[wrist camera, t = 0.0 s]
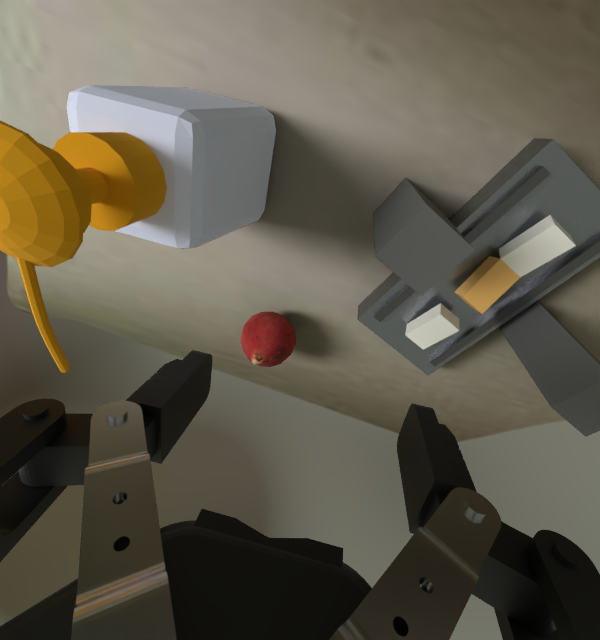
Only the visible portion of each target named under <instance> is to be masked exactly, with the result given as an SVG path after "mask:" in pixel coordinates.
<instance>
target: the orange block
mask: <svg viewBox="0 0 600 640" xmlns="http://www.w3.org/2000/svg"><path fill="white" fill-rule="evenodd" d="M519 278H520V277H519V276H518V275H517V274H516V273H515V272H514V271H513V270H512V269H511V268H510V267H509V266H508V265H507V264H506V263H505V262H503V261H502V260H501V259H500V258H496V257H492V256H489V257H488V258H487V259H486V260H485V261H484V262H483V263H482V264H481V265H480V266H479V267H478V269H477V270H476V271H475V272H474V273H473V274H472V275H471V276H470V277H469V278H468V279H467V280H466V281H465V282H464V283H463V284H462V285H461V286H460V287H459V288H458V289H457V290H456V291H455V293H456V294H457V295H458V296H459V297H460V298H461V299H463V300H464V301H465V302H466V303H467V304H468V305H469V306H471V307H472V308H473V309H474V310H476V311H478V312H480V313H481V314H483V313H484V312H485V311H486V310H487V309H488V308H489V307H490V306H491V305H492V304H493V303H494V302H495V301H496V300H497V299H498V298H499V297H501V296H502V295H503V294H504V293H505V292H506V291H507V290H508V289H509V288H510V287H511V286H512V285H513V284H514V283H515V282H516V281H517V280H518V279H519Z"/></svg>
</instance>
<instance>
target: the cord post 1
mask: <svg viewBox="0 0 600 640" xmlns="http://www.w3.org/2000/svg"><path fill="white" fill-rule="evenodd" d="M373 220H374V242H375V257H376V258H378V259H379V260H380V261H381V262H382V263H383V264H385V265H386V266H387V267H388V268H389V269H390V270H392V271H393V272H394V273H395V274H396V275H397V276H399V277H400V278H401V279H402V280H403V281H404V282H406V283H407V284H408V285H409V286H410V287H411V288H413V289H414V290H415V291H416V292H417V293H418V294H420V295H421V296H422V295H423V294H424V293H425V292H426V291H428V290H429V289H430V288H431V287H432V286H433V285H435V284H436V283H437V282H438V281H439V280H441V279H442V278H443V277H444V276H445V275H446V274H448V273H449V272H450V271H451V270H452V269H453V268H455V267H456V266H457V265H458V264H459V263H460V262H462V261H463V260H464V259H465V258H466V257H468V256H469V255H470V254H471V253H472V252H473V251H475V249H474V248H473V247H472V246H471V245H470V243H469V242H468V241H467V240H466V239H465V238H464V237H463V236H462V234H461V233H460V232H459V231H458V230H457V229H456V228H455V226H454V225H453V224H452V223H451V222H450V221H449V220H448V219H447V217H446V216H445V215H444V214H443V213H442V212H441V211H440V209H439V208H438V207H437V206H436V205H434V204H433V203H432V202H431V201H430V200H429V199H428V198H427V197H426V196H425V195H424V194H423V193H422V192H421V191H420V190H418V189H417V188H416V187H415V186H414V185H413V184H412V183H411V182H410V181H409V180H408V179H407V178H405V179H404V180H403V181H402V182H401V183H400V185H399V186H398V187H397V188H396V189H395V190H394V191H393V192H392V193H391V195H390V196H389V197H388V198H387V199H386V200H385V201H384V202H383V204H382V205H381V206H380V207H379V208H378V209H377V210H376V211H375V212H374V214H373Z"/></svg>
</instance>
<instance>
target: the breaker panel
mask: <svg viewBox="0 0 600 640" xmlns="http://www.w3.org/2000/svg"><path fill="white" fill-rule="evenodd" d="M549 215H551V216H552V217H553V218H554V219H555V220H556V221H557V222H558V223H559V224H560V225H561V226H562V227H563V228H564V229H565V230H566V231H567V232H568V233H569V234H570V236H571V237H572V239H573V241H574V243H575V245H576V246H575V247H573V248H571V249H569V250H568V251H566V252H564V253H562V254H561V255H559V256H557V257H555V258H554V259H552V260H550V261H548V262H547V263H545V264H543V265H541V266H540V267H538V268H536V269H534V270H533V271H531V272H529V273H527V274H525V275H524V276H522V277H520V278H519V279H518V280H517V281H516V282H515V283H514V284H513V285H512V286H511V287H510V288H509V289H508V290H507V291H506V292H505V293H504V294H503V295H502V296H501V297H499V298H498V299H497V300H496V301H495V302H494V303H493V304H492V305H491V306H490V307H489V308H488V309H487V310H486V311H485V312H484V313H483V314H481V313H480V312H478V311H476V310H474V309H473V308H472V307H471V306H469V305H468V304H467V303H466V302H465V301H464V300H463V299H461V298H460V297H459V296H458V295H457V294H456V293H455V291H456V290H457V289H458V288H459V287H460V286H461V285H462V284H463V283H464V282H465V281H466V280H467V279H468V278H469V277H470V276H471V275H472V274H473V273H474V272H475V271H476V270H477V269H478V267H479V266H480V265H481V264H482V263H483V262H484V261H485V260H486V259H487V258H488V257H489V256H492V257H496V258H500V254H499V248H501V247H502V246H504V245H505V244H507V243H508V242H510V241H511V240H513V239H514V238H516V237H517V236H519V235H520V234H522V233H523V232H525V231H526V230H528V229H529V228H531V227H532V226H534V225H535V224H537V223H538V222H540V221H541V220H543V219H544V218H546V217H547V216H549ZM449 221H450V222H451V223H452V224H453V225H454V226H455V228H456V229H457V230H458V231H459V232H460V233H461V234H462V236H463V237H464V238H465V239H466V240H467V241H468V242H469V243H470V245H471V246H472V247H473V248H474V249H475V251H473V252H472V253H471V254H470V255H469V256H468V257H466V258H465V259H464V260H463V261H462V262H460V263H459V264H458V265H457V266H456V267H455V268H453V269H452V270H451V271H450V272H449V273H448V274H446V275H445V276H444V277H443V278H442V279H441V280H439V281H438V282H437V283H436V284H435V285H433V286H432V287H431V288H430V289H429V290H428V291H426V292H425V293H424V294H423V295H422V296H421V295H420V294H418V293H417V292H416V291H415V290H414V289H413V288H411V287H410V286H409V285H408V284H407V283H406V282H404V281H403V280H402V279H401V278H400V277H399V276H397V275H396V274H395V273H394V272H393V273H392V274H391V275H390V276H389V277H388V278H387V279H386V280H385V281H384V282H383V283H382V284H381V285H380V286H379V287H378V288H376V289H375V290H374V291H373V292H372V293H371V294H370V295H369V296H368V297H367V298H366V299H365V300H364V301H363V302H362V303H361V304H360V305H359V306H358V320H359V321H360V322H362V323H363V324H364V325H365V326H367V327H368V328H369V329H370V330H372V331H373V332H374V333H375V334H377V335H378V336H379V337H380V338H382V339H383V340H384V341H385V342H387V343H388V344H389V345H390V346H392V347H393V348H394V349H395V350H397V351H398V352H399V353H400V354H402V355H403V356H404V357H405V358H407V359H408V360H409V361H410V362H412V363H413V364H414V365H415V366H417V367H418V368H419V369H420V370H422V371H423V372H424V373H426V374H427V375H429V374H431V373H432V372H434V371H435V370H437V369H438V368H440V367H441V366H443V365H444V364H445V363H447V362H448V361H450V360H451V359H453V358H454V357H456V356H457V355H459V354H460V353H461V352H463V351H464V350H466V349H467V348H469V347H470V346H472V345H473V344H475V343H476V342H477V341H479V340H480V339H482V338H483V337H485V336H486V335H488V334H489V333H491V332H492V331H493V330H495V329H496V328H498V327H499V326H501V325H502V324H504V323H505V322H507V321H508V320H509V319H511V318H512V317H514V316H515V315H517V314H518V313H520V312H521V311H523V310H524V309H525V308H527V307H528V306H530V305H531V304H533V303H534V302H536V301H537V300H539V299H540V298H542V297H543V296H544V295H546V294H547V293H549V292H550V291H552V290H553V289H555V288H556V287H558V286H559V285H560V284H562V283H563V282H565V281H566V280H568V279H569V278H571V277H572V276H574V275H575V274H576V273H578V272H579V271H581V270H582V269H584V268H585V267H587V266H588V265H590V264H591V263H592V262H594V261H595V260H597V259H598V258H600V190H599V189H598V188H597V187H596V186H595V185H594V183H593V182H592V181H591V180H590V179H589V178H588V177H587V176H586V175H585V174H584V172H583V171H582V170H581V169H580V168H579V167H578V166H577V165H576V164H575V163H574V162H573V160H572V159H571V158H570V157H569V156H568V155H567V154H566V153H565V152H564V151H563V150H562V148H561V147H560V146H559V145H558V144H557V143H556V142H555V141H554V140H553V139H538V138H534V139H533V140H532V141H531V142H530V143H529V144H528V145H527V146H526V147H525V148H524V149H523V150H522V151H521V152H520V153H519V154H518V155H517V156H516V157H514V158H513V159H512V160H511V161H510V162H509V163H508V164H507V165H506V166H505V167H504V168H503V169H502V170H501V171H500V172H499V173H498V174H497V175H495V176H494V177H493V178H492V179H491V180H490V181H489V182H488V183H487V184H486V185H485V186H484V187H483V188H482V189H481V190H480V191H479V192H478V193H477V194H475V195H474V196H473V197H472V198H471V199H470V200H469V201H468V202H467V203H466V204H465V205H464V206H463V207H462V208H461V209H460V210H459V211H458V212H457V213H455V214H454V215H453V216H452V217H451V218H450V219H449ZM440 303H441V304H443V305H444V306H445V307H446V308H447V309H448V310H449V311H451V312H452V313H453V314H454V315H455V316H456V317H458V318H459V331H458V332H456V333H454V334H452V335H450V336H448V337H446V338H445V339H443V340H441V341H439V342H437V343H435V344H433V345H431V346H429V347H427V348H425V349H424V350H423V349H422V348H420V347H419V346H418V345H417V344H416V343H414V342H413V341H412V340H411V339H409V338H408V337H407V336H406V335H405V333H406V326H407V324H408V323H409V322H411V321H413V320H414V319H416V318H417V317H419V316H421V315H422V314H424V313H425V312H427V311H429V310H430V309H432V308H434V307H435V306H437V305H438V304H440Z"/></svg>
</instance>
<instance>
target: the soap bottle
mask: <svg viewBox="0 0 600 640" xmlns="http://www.w3.org/2000/svg"><path fill="white" fill-rule="evenodd" d="M67 112H68V119H69V126H70V133H68V134H67V135H65V136H63V137H62V138H60V139H59V140H57V142H56V144H55V146H54V148H53V150H52V149H50V148H48V147H46V146H44V145H42V144H40V143H37V142H36V141H35V140H34V139H33V138H32V137H31V136H30V135H29V134H27V133H25V132H23V131H21V130H19V129H17V128H15V127H13V126H11V125H8V124H6V123H4V122H2V121H0V250H1V251H3V252H4V253H6V254H8V255H10V256H12V257H14V258H16V259H17V260H18V264H19V267H20V271H21V274H22V278H23V282H24V285H25V289H26V293H27V296H28V300H29V303H30V306H31V309H32V312H33V315H34V318H35V321H36V324H37V326H38V328H39V331H40V333H41V335H42V337H43V339H44V342H45V344H46V346H47V347H48V349H49V351H50V353H51V355H52V356H53V358H54V360H55V362H56V364H57V366H58V368H59V369H60V371H61V372H62V373H65V372H67V371H68V370H69V368H70V366H69V363H68V361H67V359H66V357H65V355H64V353H63V351H62V349H61V347H60V346H59V343H58V341H57V339H56V337H55V335H54V332H53V330H52V327H51V325H50V323H49V319H48V316H47V313H46V309H45V306H44V303H43V299H42V295H41V291H40V287H39V283H38V279H37V275H36V271H35V267H34V265H36V266H47V267H53V266H55V265H58V264H60V263H62V262H65V261H67V260H69V259H71V258H73V256H74V255H75V253H76V252H77V250H78V248H79V247H80V245H81V243H82V241H83V233H84V232H85V230H86V229H87V227H88V225H90V226H92V227H94V228H96V229H98V230H109V231H117V232H121V233H124V234H128V235H132V236H135V237H139V238H143V239H146V240H150V241H153V242H157V243H161V244H164V245H168V246H172V247H175V248H180V249H188V248H195V247H198V246H200V245H203V244H205V243H207V242H209V241H212V240H214V239H216V238H219V237H221V236H223V235H225V234H228V233H230V232H232V231H235V230H237V229H239V228H241V227H244V226H246V225H248V224H251V223H253V222H255V221H257V220H259V219H260V217H261V215H262V214H263V212H264V210H265V204H266V197H267V190H268V183H269V176H270V169H271V163H272V156H273V149H274V142H275V135H276V127H275V122H274V116H273V115H272V114H271V113H270V112H268V111H267V110H266V109H265V108H264V107H262V106H258V105H254V104H250V103H246V102H242V101H238V100H234V99H230V98H226V97H222V96H218V95H214V94H210V93H206V92H202V91H198V90H194V89H190V88H186V87H146V86H98V85H89V86H86V87H82V88H79V89H76V90H73V91H71V92H69V97H68V102H67Z"/></svg>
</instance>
